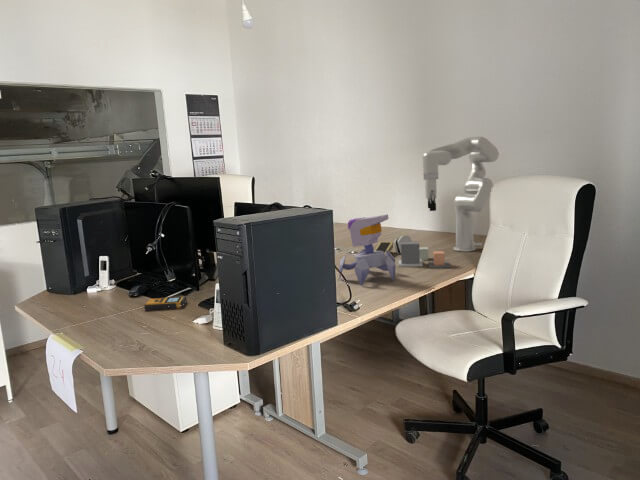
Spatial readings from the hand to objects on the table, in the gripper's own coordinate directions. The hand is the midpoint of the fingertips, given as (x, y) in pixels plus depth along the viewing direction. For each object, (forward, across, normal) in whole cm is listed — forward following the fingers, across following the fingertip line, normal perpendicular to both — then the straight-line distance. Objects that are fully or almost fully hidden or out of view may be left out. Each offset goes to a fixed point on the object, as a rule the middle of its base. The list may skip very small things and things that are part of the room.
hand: (431, 209), depth 257 cm
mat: (+26, +17, +1) cm, 31 cm away
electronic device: (+22, +76, -116) cm, 141 cm away
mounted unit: (+26, +13, -13) cm, 31 cm away
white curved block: (+27, -19, -14) cm, 36 cm away
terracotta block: (+25, +17, +1) cm, 30 cm away
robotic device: (+25, +38, -33) cm, 56 cm away
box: (+26, -7, -27) cm, 38 cm away
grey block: (+26, +2, -6) cm, 27 cm away
